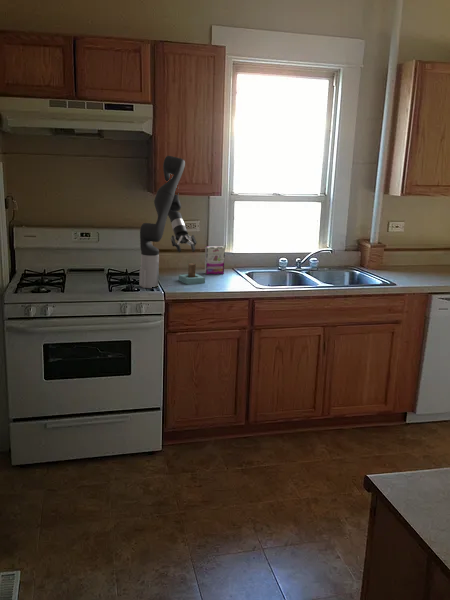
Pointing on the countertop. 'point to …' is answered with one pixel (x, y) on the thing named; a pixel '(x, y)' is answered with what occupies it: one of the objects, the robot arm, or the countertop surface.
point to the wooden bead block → (191, 279)
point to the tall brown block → (191, 270)
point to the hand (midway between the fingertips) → (187, 251)
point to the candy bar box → (214, 259)
